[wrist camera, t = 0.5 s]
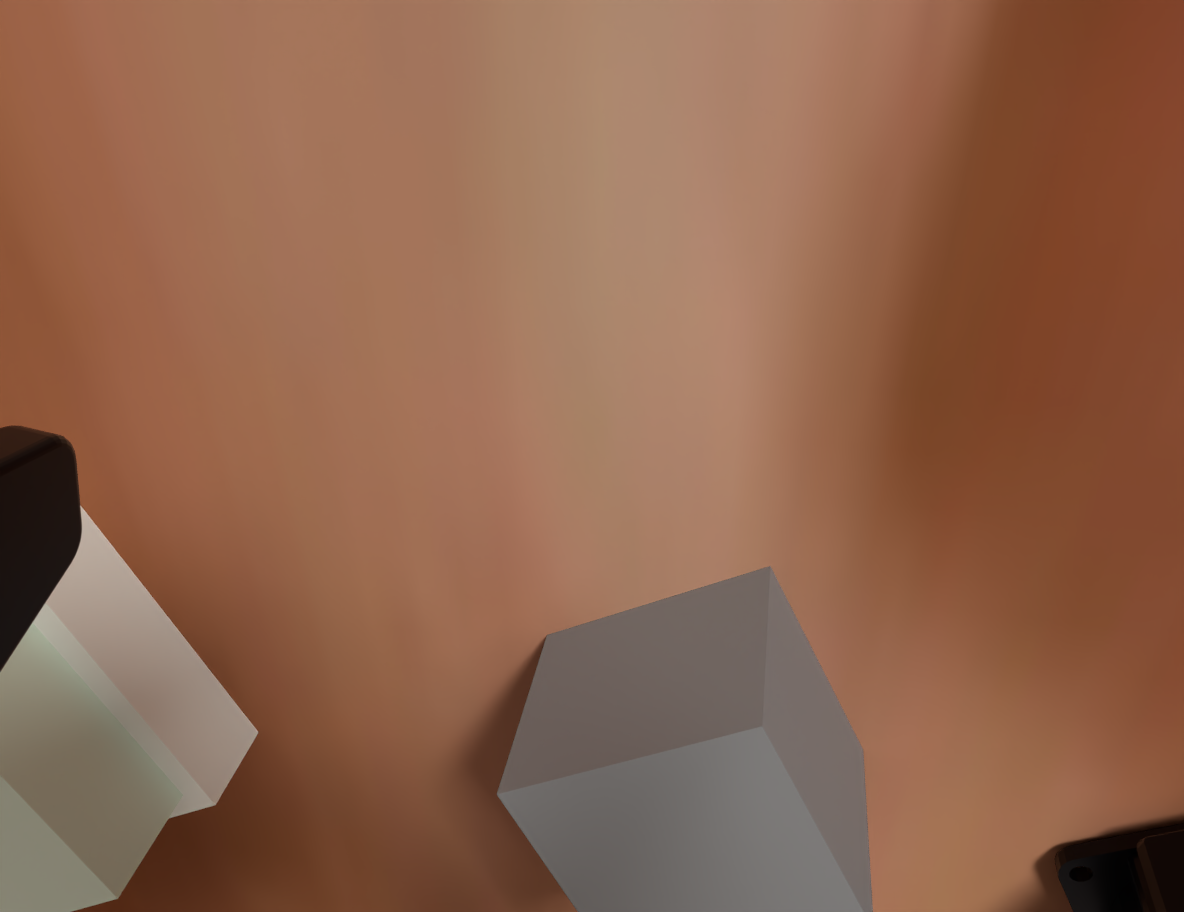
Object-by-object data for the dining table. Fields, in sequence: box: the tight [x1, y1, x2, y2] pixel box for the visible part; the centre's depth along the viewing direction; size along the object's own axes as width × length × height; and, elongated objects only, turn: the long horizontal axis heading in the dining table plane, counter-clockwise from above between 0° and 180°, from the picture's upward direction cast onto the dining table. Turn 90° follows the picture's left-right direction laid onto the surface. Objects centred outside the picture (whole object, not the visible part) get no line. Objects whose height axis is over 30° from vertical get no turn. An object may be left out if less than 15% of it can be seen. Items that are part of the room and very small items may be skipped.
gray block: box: [497, 566, 873, 912], centre depth 24 cm, size 6×6×5 cm
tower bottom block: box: [33, 506, 259, 818], centre depth 28 cm, size 9×9×3 cm
